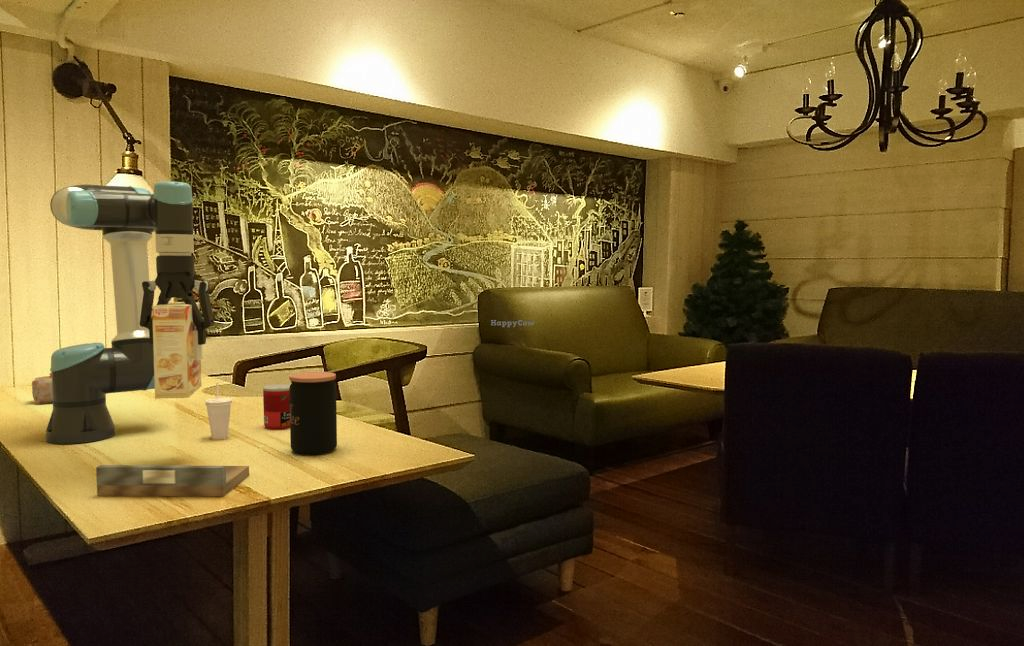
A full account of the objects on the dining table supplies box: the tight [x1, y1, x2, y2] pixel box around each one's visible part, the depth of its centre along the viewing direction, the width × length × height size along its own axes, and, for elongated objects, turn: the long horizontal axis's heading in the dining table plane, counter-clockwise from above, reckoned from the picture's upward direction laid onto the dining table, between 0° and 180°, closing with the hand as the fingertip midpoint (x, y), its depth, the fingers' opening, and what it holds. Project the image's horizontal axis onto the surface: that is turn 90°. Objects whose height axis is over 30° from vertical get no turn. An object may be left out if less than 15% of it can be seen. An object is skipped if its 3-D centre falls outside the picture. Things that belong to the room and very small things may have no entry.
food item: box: [31, 372, 53, 405], centre depth 237 cm, size 14×8×10 cm, turn 124°
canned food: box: [262, 383, 291, 431], centre depth 202 cm, size 8×8×11 cm
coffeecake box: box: [152, 301, 203, 400], centre depth 164 cm, size 15×7×20 cm, turn 12°
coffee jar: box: [289, 371, 338, 456], centre depth 177 cm, size 11×11×18 cm
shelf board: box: [95, 464, 250, 497], centre depth 150 cm, size 24×14×6 cm, turn 90°
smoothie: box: [204, 382, 233, 441], centre depth 189 cm, size 6×6×14 cm
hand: (178, 359), depth 164 cm, fingers closed on coffeecake box, 8 cm apart
